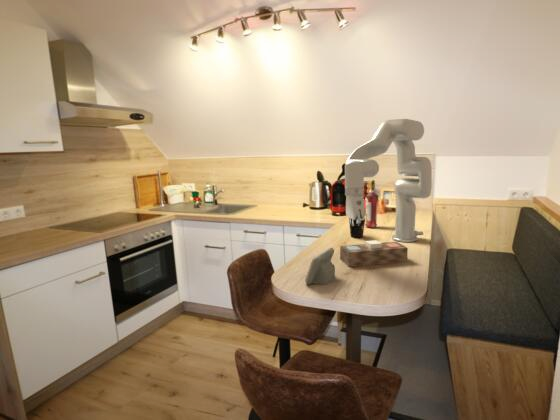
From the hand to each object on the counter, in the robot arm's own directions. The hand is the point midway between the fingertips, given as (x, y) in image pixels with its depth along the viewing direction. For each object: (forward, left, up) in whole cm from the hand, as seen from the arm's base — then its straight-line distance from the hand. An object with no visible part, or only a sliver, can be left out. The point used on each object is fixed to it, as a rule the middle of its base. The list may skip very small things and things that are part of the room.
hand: (354, 234), depth 151 cm
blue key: (+1, 0, -10) cm, 10 cm away
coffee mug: (-18, -40, -12) cm, 45 cm away
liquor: (-33, -58, -12) cm, 68 cm away
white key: (-8, 0, -8) cm, 12 cm away
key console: (-8, 0, -12) cm, 15 cm away
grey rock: (+20, +16, -12) cm, 28 cm away
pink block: (-17, 0, -10) cm, 20 cm away
